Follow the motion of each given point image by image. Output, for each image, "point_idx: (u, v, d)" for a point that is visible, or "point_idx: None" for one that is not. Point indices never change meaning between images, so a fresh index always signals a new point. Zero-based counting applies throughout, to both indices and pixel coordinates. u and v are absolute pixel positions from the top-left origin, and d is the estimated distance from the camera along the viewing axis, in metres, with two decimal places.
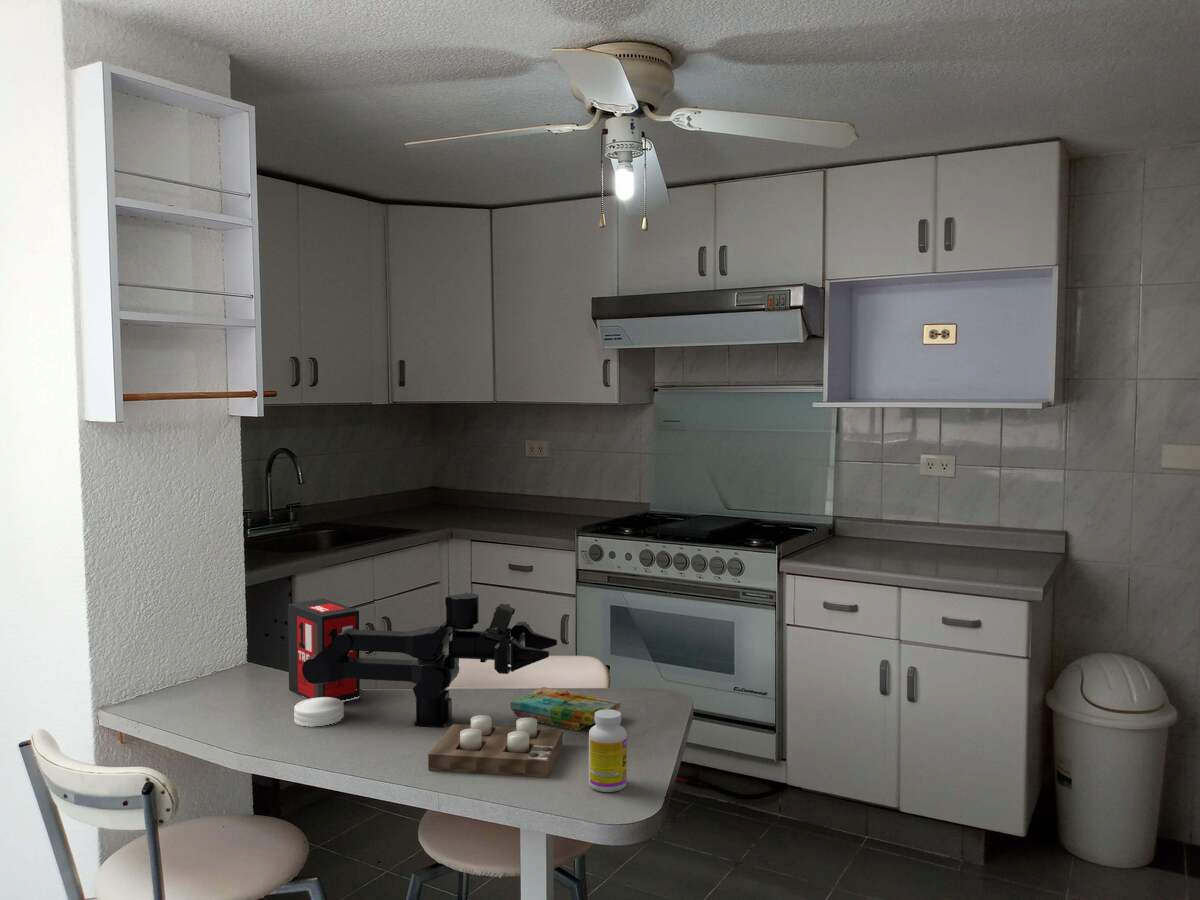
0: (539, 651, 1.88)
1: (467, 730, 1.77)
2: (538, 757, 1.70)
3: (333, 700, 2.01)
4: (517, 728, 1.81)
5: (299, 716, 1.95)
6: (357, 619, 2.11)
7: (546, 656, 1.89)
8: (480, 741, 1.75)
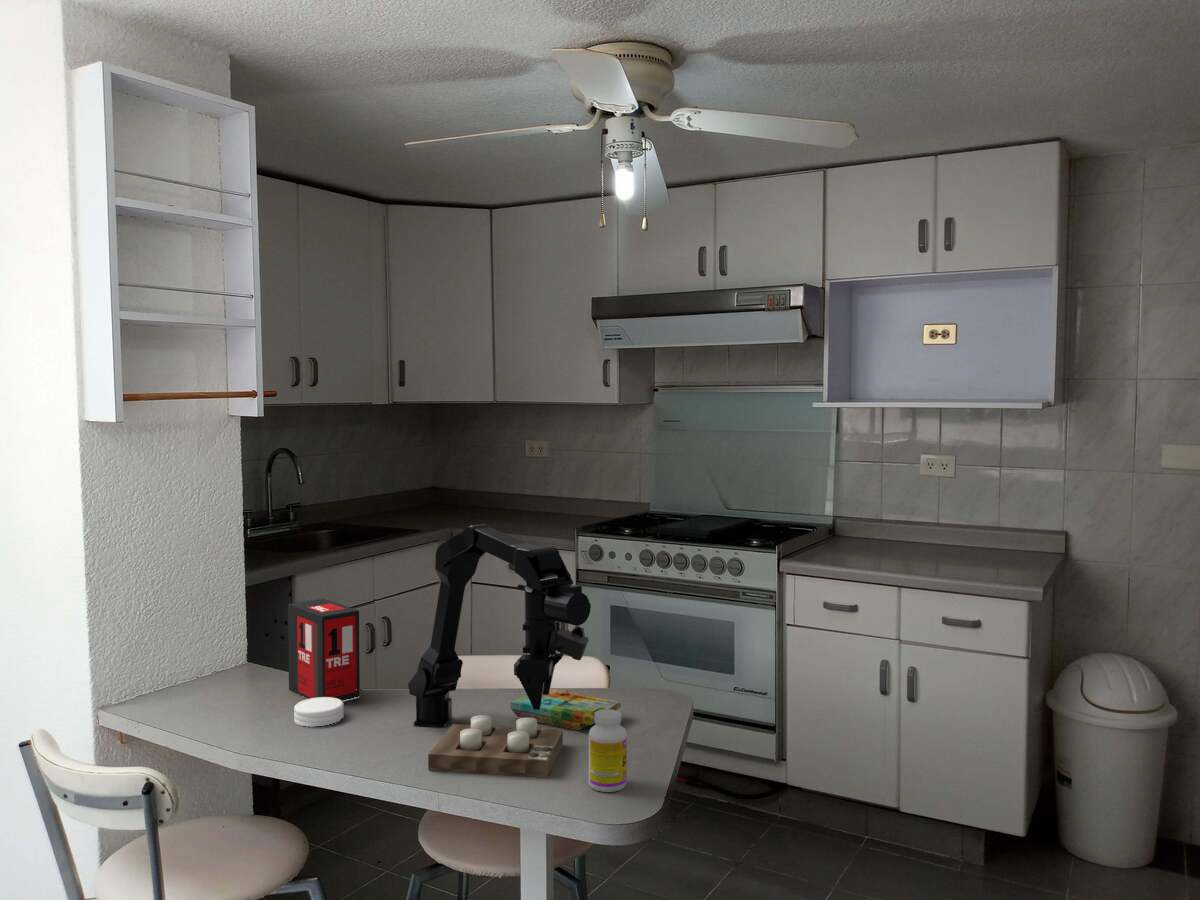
0: (539, 700, 1.67)
1: (467, 730, 1.77)
2: (538, 757, 1.70)
3: (333, 700, 2.01)
4: (517, 728, 1.81)
5: (299, 716, 1.95)
6: (357, 619, 2.11)
7: (534, 707, 1.68)
8: (480, 741, 1.75)
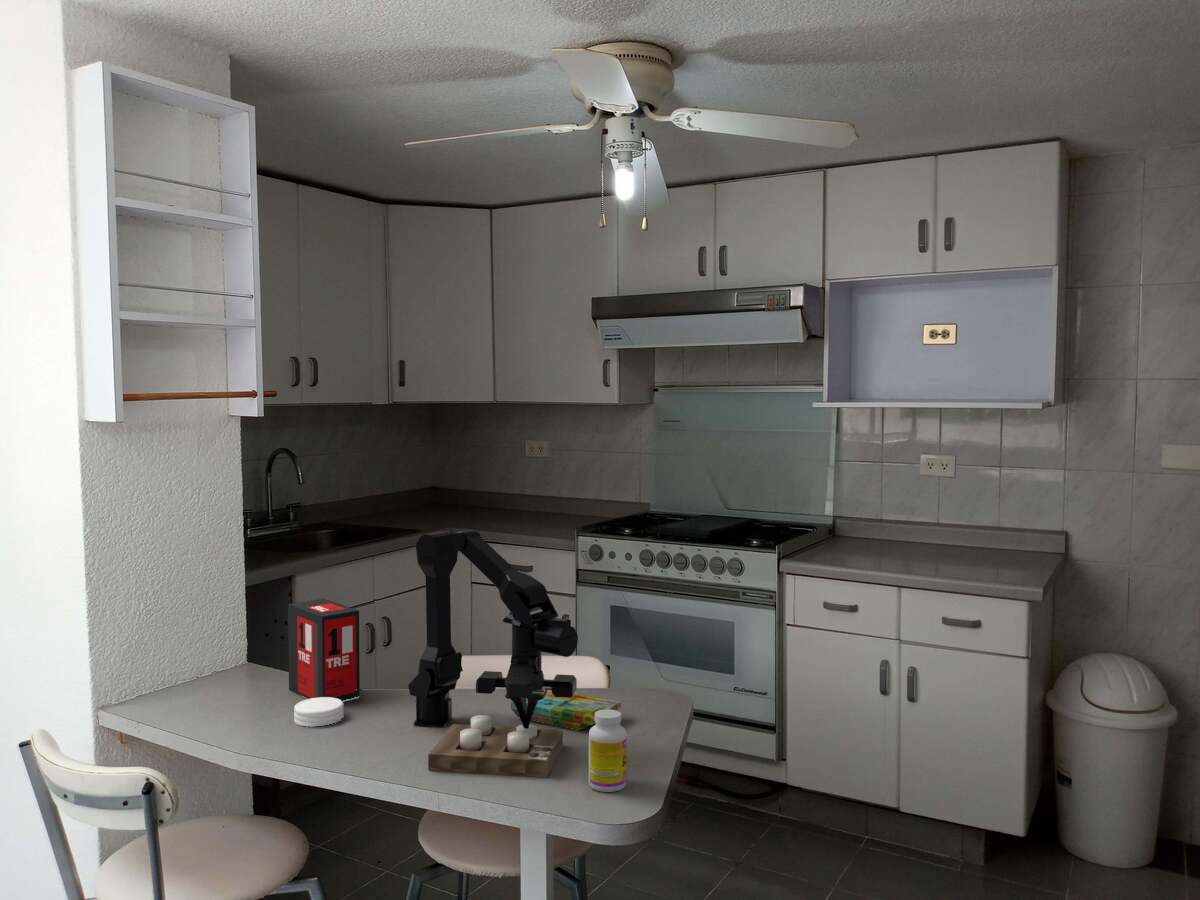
0: (521, 719, 1.82)
1: (467, 730, 1.77)
2: (538, 757, 1.70)
3: (333, 700, 2.01)
4: None
5: (299, 716, 1.95)
6: (357, 619, 2.11)
7: None
8: (480, 741, 1.75)
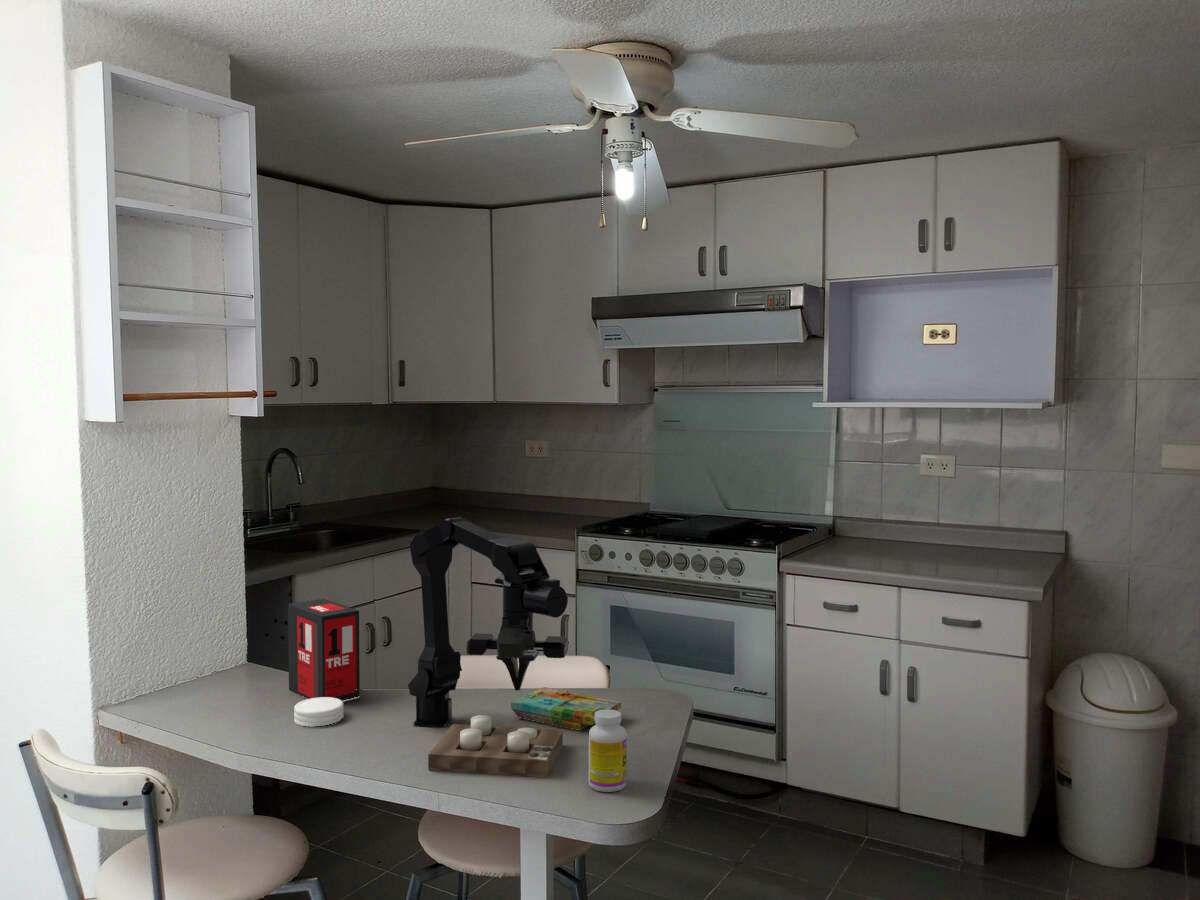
0: None
1: (467, 730, 1.77)
2: (538, 757, 1.70)
3: (333, 700, 2.01)
4: None
5: (299, 716, 1.95)
6: (357, 619, 2.11)
7: None
8: (480, 741, 1.75)
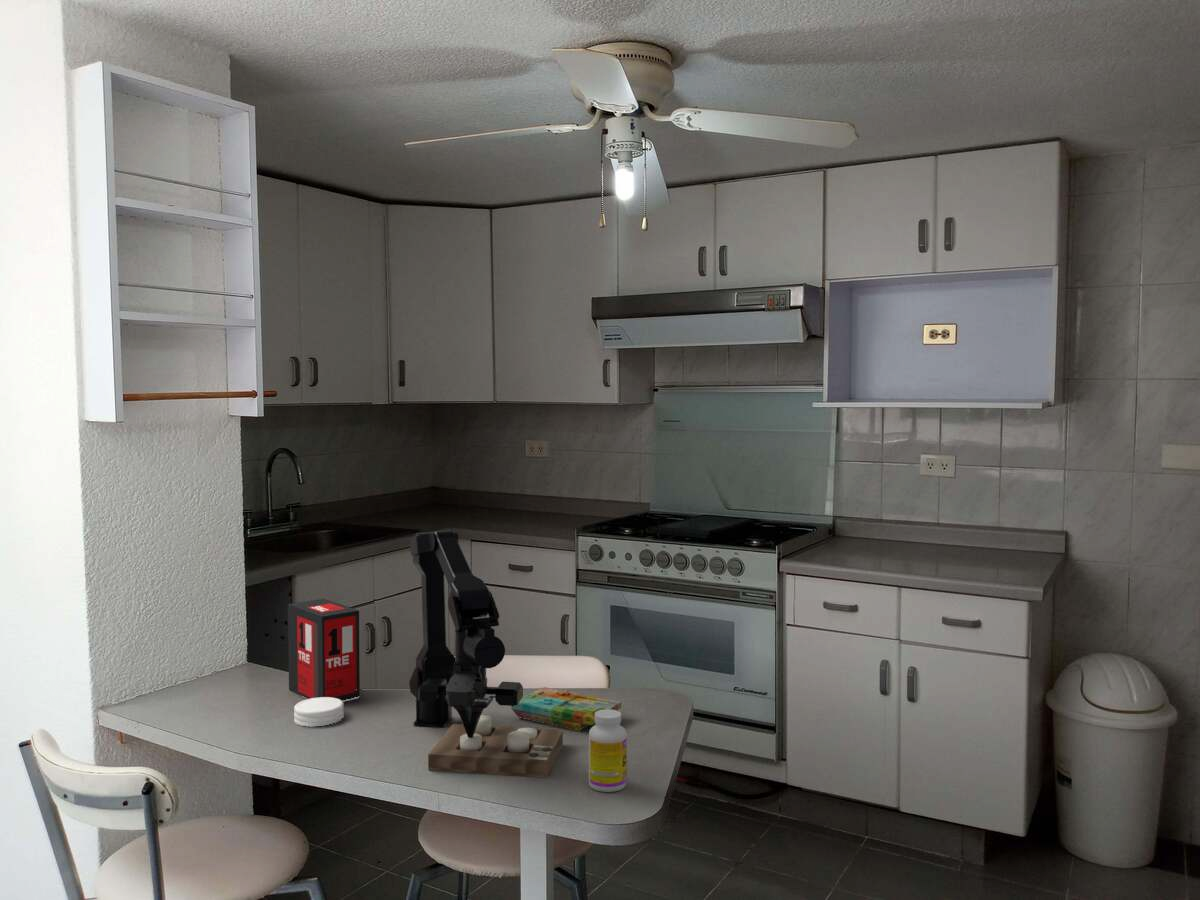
0: (465, 728, 1.75)
1: None
2: (538, 757, 1.70)
3: (333, 700, 2.01)
4: None
5: (299, 716, 1.95)
6: (357, 619, 2.11)
7: None
8: (480, 746, 1.76)
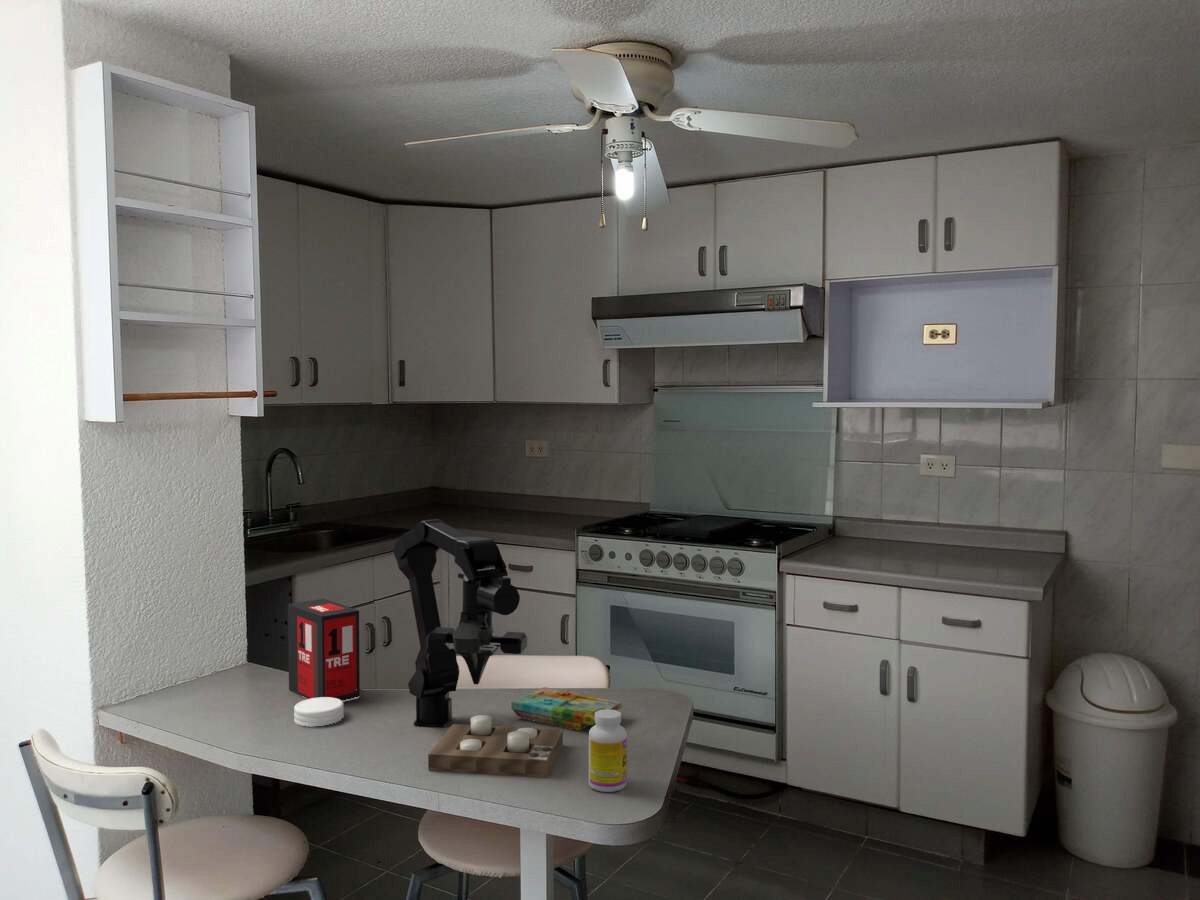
0: (471, 675, 1.83)
1: (467, 741, 1.77)
2: (538, 757, 1.70)
3: (333, 700, 2.01)
4: None
5: (299, 716, 1.95)
6: (357, 619, 2.11)
7: None
8: None
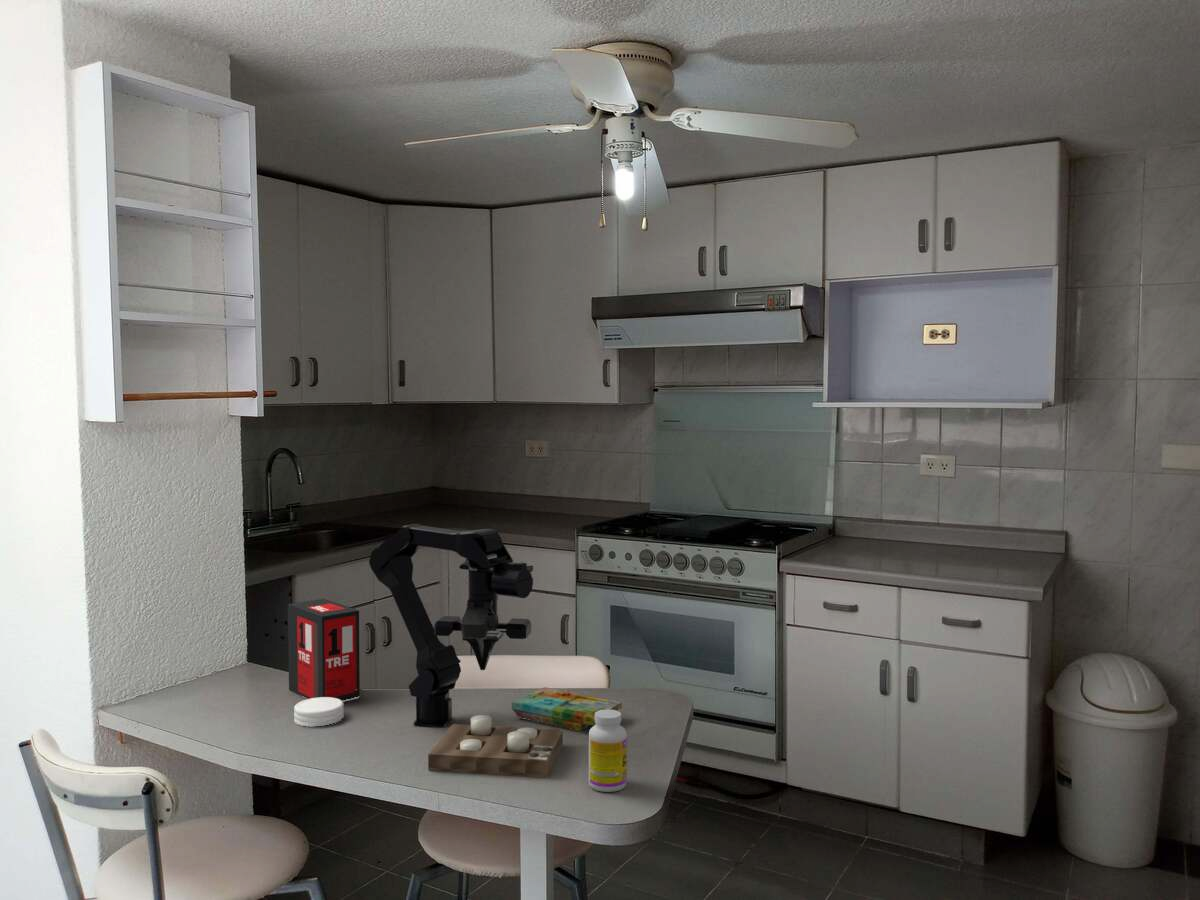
0: (478, 661, 1.90)
1: (467, 741, 1.77)
2: (538, 757, 1.70)
3: (333, 700, 2.01)
4: None
5: (299, 716, 1.95)
6: (357, 619, 2.11)
7: None
8: None
